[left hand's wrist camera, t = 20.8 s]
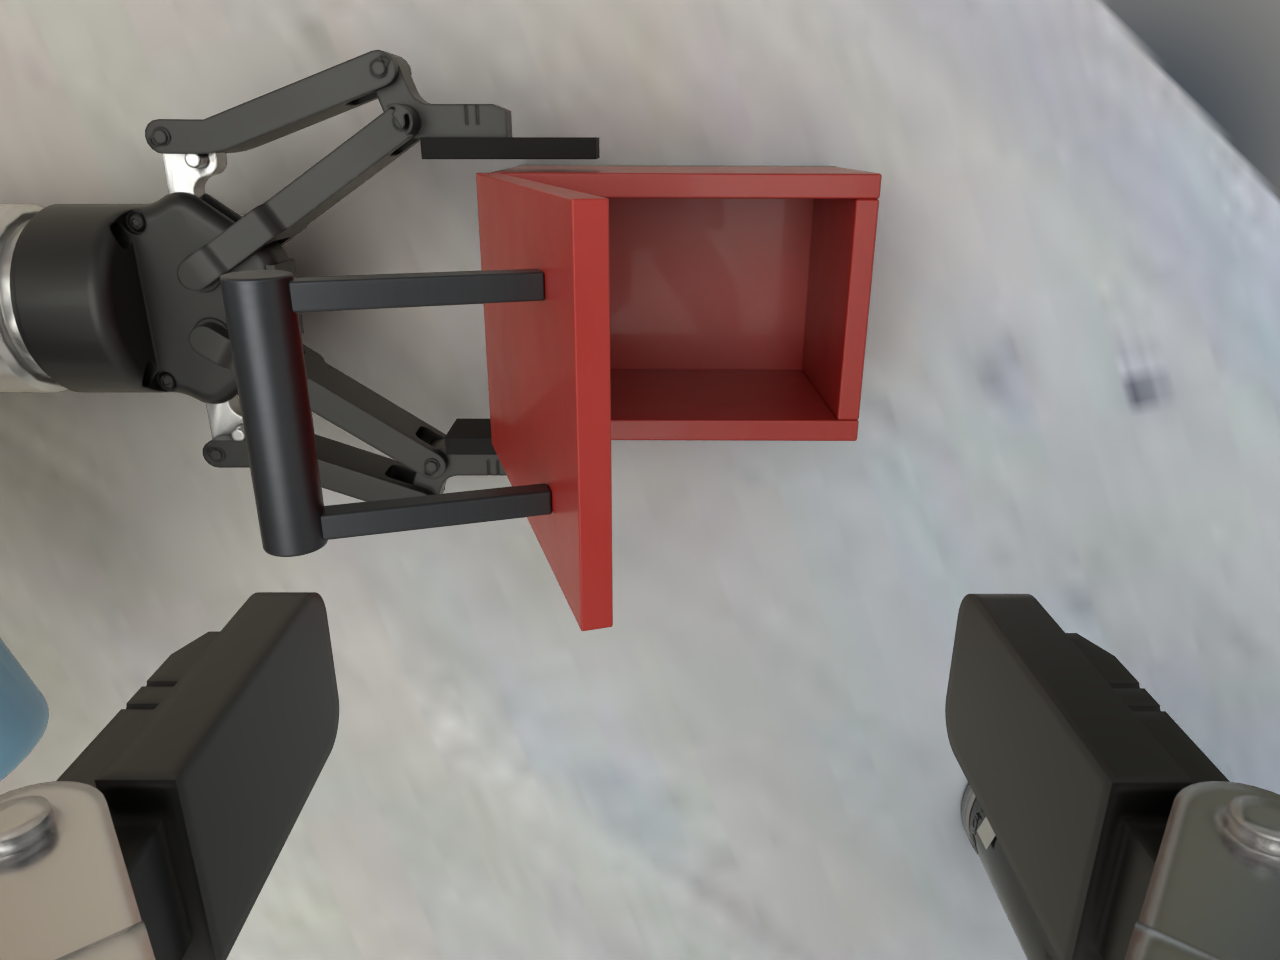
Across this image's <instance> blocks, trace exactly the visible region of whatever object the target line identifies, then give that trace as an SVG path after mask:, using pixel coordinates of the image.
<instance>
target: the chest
mask: <svg viewBox="0 0 1280 960" xmlns="http://www.w3.org/2000/svg"><path fill="white" fill-rule="evenodd" d="M492 173H500V174H504V175H509V176H513V177H517V178H522V179H526V180H530V181H535V182H539V183H543V184H548V185H552V186H556V187H561V188H565V189H569V190H574V191H578V192H582V193H587V194H591V195H595V196H600V197H604V198H607V199H608V200H609V274H610V385H611V440H776V441H856V440H857V432H858V420H857V419H858V418H859V409H860V399H861V388H862V377H863V367H864V356H865V345H866V335H867V324H868V313H869V303H870V292H871V281H872V271H873V260H874V249H875V239H876V228H877V217H878V207H879V200H878V198H879V197H880V187H881V174H879V173H872V172H865V171H858V170H851V169H845V168H838V167H834V166H653V165H520V166H518V167H513V168H509V169H505V170H500V171H496V172H492Z"/></svg>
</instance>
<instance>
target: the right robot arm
mask: <svg viewBox="0 0 1280 960" xmlns="http://www.w3.org/2000/svg"><path fill="white" fill-rule="evenodd" d="M411 74H412V73H411V69H410V66H409V64H408V63H407V61H406V60H404V59H403V58H402V57H399V56H396V55H394V54H391V53H388V52H384V51H381V50H374V51H371V52H368V53H366V54H363V55H361V56H358V57H356V58H353V59H351V60H348V61H346V62H344V63H341V64H339V65H336V66H334V67H331V68H329V69H326V70H324V71H322V72H319V73H317V74H314V75H312V76H309V77H307V78H304V79H302V80H300V81H297V82H295V83H292V84H290V85H287V86H285V87H282V88H280V89H277V90H275V91H273V92H270V93H268V94H265V95H263V96H260V97H258V98H255V99H253V100H251V101H248V102H246V103H243V104H241V105H238V106H236V107H233V108H231V109H229V110H226V111H224V112H221V113H219V114H216V115H214V116H211V117H209V118H207V119H204V120H183V119H158V120H153V121H151V122H150V123H149V124H148V125H147V127H146V130H145V137H146V140H147V143H148V144H149V146H150V147H151V148H152V149H153V150H155V151H156V152H158V153H162V155H163V161H164V166H165V172H166V178H167V184H168V190H169V194H168V195H166V196H165V197H163V198H162V199H160V200H159V201H157V202H155V203H152V204H55V205H51V206H48V207H46V208H43V207H41V206H38V205H35V204H0V392H45V393H56V392H60V391H64V390H68V389H69V390H72V391H76V392H179V393H184V394H187V395H190V396H192V397H194V398H196V399H198V400H200V401H202V402H205V403H206V406H207V412H208V417H209V422H210V428H211V433H212V440H211V441H209V442H208V443H207V444H205V446H204V448H203V456H204V458H205V460H206V461H207V462H208V463H209V464H210V465H212V466H214V467H219V468H222V467H250V463H249V457H248V451H247V445H246V438H245V432H244V426H243V420H242V414H241V407H240V401H239V398H238V389H237V383H236V376H235V370H234V364H233V358H232V352H231V345H230V339H229V333H228V327H227V321H226V315H225V308H224V302H223V296H222V290H221V284H220V277H221V276H222V275H224V274H227V273H232V272H239V271H249V270H283V271H288V272H291V273H292V274H293V277H294V278H296V272H295V264H294V258H288V255H287V254H286V252H285V250H284V249H283V247H282V245H284V244H285V243H286V242H288V241H289V240H290V239H292V238H293V237H294V236H296V235H297V234H298V233H300V232H301V231H302V230H304V229H305V228H306V227H307V225H308V224H309V223H310V222H312V221H313V220H314V219H316V218H317V217H318V216H320V215H321V214H322V213H324V212H325V211H326V210H328V209H329V208H330V207H332V206H333V205H335V204H336V203H337V202H339V201H340V200H341V199H343V198H344V197H345V196H347V195H348V194H349V193H351V192H352V191H353V190H355V189H356V188H357V187H359V186H360V185H361V184H363V183H364V182H365V181H367V180H368V179H369V178H371V177H372V176H373V175H375V174H376V173H377V172H379V171H380V170H381V169H383V168H384V167H385V166H387V165H388V164H389V163H391V162H392V161H393V160H395V159H396V158H398V157H399V156H400V155H402V154H403V153H404V152H406V151H407V150H408V149H410V148H411V147H412V146H414V145H415V144H416V143H418V142H419V141H420V140H421V153H422V159H598V158H599V138H512V122H511V111H509V110H507V109H505V108H502V107H500V106H497V105H493V104H429V103H427V102H426V101H425V100H423V99H422V97H421V96H420V95H419V93H418V91H417V89H416V87H415V84H414V82H413V79H412V77H411ZM375 99H379V102H380V104H381V106H382V109H383V111H384V113H382V114H381V115H380V116H378V117H377V118H376V119H375V120H373V121H372V122H371V123H369V124H368V125H367V126H365V127H364V128H363V129H361V130H360V131H359V132H357V133H356V134H355V135H354V136H352V137H351V138H350V139H348V140H347V141H346V142H344V143H343V144H342V145H340V146H339V147H338V148H336V149H335V150H334V151H333V152H331V153H330V154H329V155H327V156H326V157H325V158H323V159H322V160H321V161H319V162H318V163H317V164H315V165H314V166H313V167H312V168H310V169H309V170H308V171H306V172H305V173H304V174H302V175H301V176H300V177H298V178H297V179H296V180H294V181H293V182H292V183H291V184H289V185H288V186H287V187H285V188H284V189H283V190H281V191H280V192H279V193H277V194H276V195H275V196H273V197H272V198H271V199H269V200H268V201H267V202H265V203H264V204H262V205H260V206H258V207H256V208H254V209H253V210H251V211H250V212H248V213H247V214H246V215H244V216H243V217H241V216H240V215H238V214H237V213H235V212H234V211H232V210H231V209H229V208H228V207H226V206H225V205H223V204H222V203H220V202H219V201H217V200H216V199H214V198H213V197H211V196H210V195H208V194H206V193H205V184H206V181H207V180H208V179H209V178H210V177H211V176H214V175H217V174H220V173H222V172H223V171H224V170H225V168H226V165H227V156H226V153H235V152H241V151H246V150H249V149H252V148H255V147H258V146H261V145H263V144H266V143H268V142H271V141H273V140H276V139H278V138H281V137H283V136H286V135H288V134H291V133H293V132H296V131H298V130H301V129H303V128H306V127H308V126H311V125H313V124H316V123H318V122H321V121H323V120H326V119H328V118H331V117H333V116H336V115H338V114H341V113H343V112H346V111H348V110H350V109H353V108H355V107H358V106H360V105H363V104H365V103H368V102H370V101H373V100H375ZM298 314H299V322H300V329H301V334H302V333H304V331H303V324H302V316H301V313H300V312H298ZM302 345H303V344H302ZM303 352H304V360H305V367H306V375H307V382H308V390H309V397H310V405H311V411H313V412H314V413H316V414H318V415H319V416H321V417H323V418H325V419H326V420H328V421H330V422H331V423H333V424H335V425H337V426H338V427H340V428H342V429H343V430H345V431H347V432H349V433H350V434H352V435H354V436H355V437H357V438H359V439H361V440H362V441H364V442H366V443H367V444H369V445H371V446H372V447H374V448H376V449H378V450H379V451H381V452H383V453H384V454H386V455H388V456H390V457H391V458H393V459H395V460H396V461H395V460H392V459H389V458H386V457H383V456H380V455H377V454H374V453H371V452H368V451H365V450H362V449H359V448H355V447H352V446H349V445H346V444H343V443H340V442H337V441H334V440H331V439H328V438H325V437H322V436H319V435H315V434H314V435H315V443H316V450H317V458H318V465H319V473H320V480H321V487H322V488H326V489H329V490H332V491H335V492H338V493H341V494H344V495H348V496H351V497H354V498H357V499H360V500H363V501H366V502H369V501H379V500H388V499H398V498H408V497H417V496H427V495H436V494H442V493H443V492H444V490H445V484H446V480H447V479H448V478H449V477H452V476H456V475H507V474H506V472H505V470H504V468H503V466H502V464H501V462H500V460H499V458H498V456H497V453H496V451H495V449H494V447H493V445H492V437H491V420H490V419H456V421H455V423H454V424H453V426H452V427H451V429H450V430H449V432H448V433H447V435H446V434H444V433H442V432H440V431H439V430H437V429H435V428H434V427H432V426H430V425H429V424H427V423H425V422H424V421H422V420H420V419H419V418H417V417H415V416H414V415H412V414H410V413H409V412H407V411H405V410H404V409H402V408H400V407H399V406H397V405H395V404H394V403H392V402H390V401H389V400H387V399H385V398H384V397H382V396H380V395H379V394H377V393H375V392H374V391H372V390H370V389H369V388H367V387H365V386H364V385H362V384H360V383H358V382H357V381H355V380H353V379H352V378H350V377H348V376H347V375H345V374H343V373H342V372H340V371H338V370H337V369H335V368H333V367H332V366H330V365H328V364H327V363H326V362H325V361H324V359H323V357H322V356H321V355H319V354H318V353H317V352H315V351H313V350H312V349H310V348H308V347H306V346H305V345H303ZM48 718H49V709H48V705H47V702H46V700H45V698H44V696H43V695H42V693H41V692H40V691H39V689H38V688H37V687H36V685H35V684H34V683H33V681H32V680H31V679H30V677H29V676H28V674H27V673H26V672H25V670H24V669H23V668H22V666H21V665H20V664H19V662H18V661H17V660H16V658H15V657H14V656H13V654H12V653H11V652H10V650H9V649H8V648H7V646H6V645H5V644H4V642H3V641H2V640H1V638H0V781H1V780H2V779H3V778H5V777H6V776H7V775H8V774H9V773H10V772H11V771H12V770H14V769H15V768H16V767H17V766H18V765H19V764H20V763H21V762H22V761H23V760H24V759H25V758H26V757H27V755H28V754H29V753H30V752H31V751H32V749H33V748H34V747H35V745H36V744H37V743H38V742H39V740H40V739H41V737H42V735H43V734H44V731H45V729H46V727H47V723H48Z"/></svg>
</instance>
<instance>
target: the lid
mask: <svg viewBox="0 0 1280 960" xmlns="http://www.w3.org/2000/svg"><path fill="white" fill-rule="evenodd" d="M476 181H477V198H478V215H479V232H480V249H481V266H482V271H459V272H433V273H406V274H379V275H352V276H326V277H299V278H294V277H293V274H292V273H291V272H288V271H283V270H249V271H239V272H232V273H227V274H224V275H222V276H221V277H220V284H221V290H222V296H223V302H224V308H225V315H226V321H227V327H228V333H229V339H230V345H231V352H232V358H233V364H234V370H235V376H236V383H237V389H238V395H239V401H240V407H241V414H242V420H243V426H244V432H245V438H246V445H247V451H248V457H249V463H250V469H251V475H252V482H253V488H254V494H255V500H256V506H257V513H258V519H259V525H260V531H261V537H262V544H263V548H264V550H265V551H266V552H267V553H268V554H270V555H274V556H280V557H292V556H300V555H304V554H308V553H311V552H314V551H316V550H319V549H320V548H322V547H323V546H324V545H325V544H326V543H327V541H328V540H329V539H338V538H347V537H355V536H364V535H373V534H382V533H390V532H399V531H408V530H417V529H425V528H434V527H443V526H452V525H460V524H469V523H478V522H487V521H495V520H504V519H513V518H522V517H527V518H528V520H529V522H530V524H531V527H532V529H533V531H534V533H535V535H536V537H537V539H538V541H539V543H540V545H541V547H542V549H543V552H544V554H545V556H546V558H547V560H548V562H549V564H550V566H551V568H552V570H553V572H554V574H555V577H556V579H557V581H558V583H559V585H560V587H561V589H562V591H563V593H564V595H565V597H566V600H567V602H568V604H569V606H570V608H571V610H572V612H573V614H574V616H575V618H576V620H577V622H578V625H579V627H580V629H581V631H587V630H593V629H600V628H606V627H612V625H613V608H612V497H611V385H610V274H609V200H608V199H607V198H604V197H600V196H595V195H591V194H587V193H582V192H578V191H574V190H569V189H565V188H561V187H556V186H552V185H548V184H543V183H539V182H535V181H530V180H526V179H522V178H517V177H513V176H509V175H504V174H500V173H476ZM463 304H484V317H485V334H486V351H487V368H488V385H489V402H490V420H491V437H492V445H493V447H494V449H495V451H496V453H497V456H498V458H499V460H500V462H501V464H502V466H503V468H504V470H505V472H506V474H507V476H508V479H509V481H510V483H511V485H512V487H503V488H494V489H484V490H475V491H465V492H455V493H446V494H436V495H427V496H417V497H408V498H398V499H388V500H379V501H369V502H360V503H350V504H341V505H331V506H324V503H323V495H322V488H321V480H320V473H319V465H318V458H317V450H316V443H315V435H314V428H313V420H312V412H311V405H310V397H309V390H308V382H307V375H306V367H305V360H304V352H303V345H302V337H301V329H300V322H299V314H298V312H315V311H336V310H357V309H378V308H399V307H420V306H442V305H463Z"/></svg>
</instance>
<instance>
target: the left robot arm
mask: <svg viewBox="0 0 1280 960" xmlns="http://www.w3.org/2000/svg"><path fill="white" fill-rule="evenodd" d="M945 711H946V726H947V733H948V738H949V741H950V745H951V748H952V750H953V753H954V755H955V757H956V759H957V761H958V763H959V765H960V767H961V769H962V771H963V773H964V775H965V776H966V778H967V780H968V782H969V785H968V787H967V789H966V791H965V794H964V797H963V801H962V808H961V816H962V822H963V826H964V829H965V831H966V834H967V836H968V838H969V840H970V842H971V844H972V846H973V848H974V849H975V851H976V852H977V854H978V855H979V857H980V859H981V861H982V863H983V865H984V868H985V870H986V872H987V874H988V876H989V879H990V881H991V883H992V885H993V887H994V890H995V892H996V894H997V896H998V898H999V900H1000V902H1001V904H1002V907H1003V909H1004V911H1005V913H1006V915H1007V917H1008V919H1009V921H1010V923H1011V926H1012V928H1013V930H1014V932H1015V934H1016V936H1017V938H1018V940H1019V943H1020V945H1021V947H1022V949H1023V951H1024V953H1025V955H1026V957H1027V959H1028V960H1280V795H1278V794H1276V793H1273V792H1271V791H1268V790H1264V789H1261V788H1258V787H1254V786H1250V785H1245V784H1241V783H1234V782H1230V781H1229V780H1228V779H1227V778H1226V777H1225V776H1224V775H1223V774H1222V773H1221V772H1220V771H1219V770H1218V768H1217V767H1216V766H1215V765H1214V764H1213V763H1212V762H1211V761H1210V760H1209V759H1208V758H1207V756H1206V755H1205V754H1204V753H1203V752H1202V751H1201V750H1200V749H1199V748H1198V747H1197V746H1196V744H1195V743H1194V742H1193V741H1192V740H1191V739H1190V738H1189V737H1188V736H1187V735H1186V734H1185V732H1184V731H1183V730H1182V729H1181V728H1180V727H1179V726H1178V725H1177V724H1176V723H1175V722H1174V720H1173V719H1172V718H1171V717H1170V716H1169V715H1168V714H1167V713H1166V712H1161V711H1160V705H1159V704H1158V703H1157V702H1156V701H1155V700H1154V699H1153V698H1152V696H1151V695H1150V694H1149V693H1148V692H1147V691H1146V690H1145V689H1140V687H1139V682H1138V681H1137V680H1136V679H1135V678H1134V677H1133V676H1132V675H1131V674H1130V672H1129V671H1128V670H1127V669H1126V668H1125V667H1124V666H1123V665H1122V664H1121V663H1120V662H1119V660H1118V659H1117V658H1116V657H1115V656H1113V655H1112V654H1110V653H1108V652H1107V651H1105V650H1103V649H1102V648H1100V647H1098V646H1097V645H1095V644H1093V643H1092V642H1090V641H1089V640H1087V639H1085V638H1084V637H1082V636H1080V635H1079V634H1077V633H1065V632H1064V631H1063V630H1062V629H1061V628H1060V627H1059V625H1058V624H1057V623H1056V622H1055V621H1054V620H1053V618H1052V617H1051V616H1050V615H1049V614H1048V613H1047V611H1046V610H1045V609H1044V608H1043V607H1042V606H1041V604H1040V603H1039V602H1038V601H1037V600H1036V599H1035V598H1034V597H1033V596H1032V595H1030V594H968V595H966V596H965V597H964V599H963V600H962V602H961V605H960V608H959V613H958V620H957V627H956V634H955V640H954V647H953V654H952V661H951V668H950V675H949V682H948V689H947V696H946V709H945ZM338 721H339V698H338V690H337V683H336V676H335V669H334V662H333V655H332V648H331V641H330V634H329V627H328V620H327V613H326V608H325V604H324V601H323V599H322V597H321V596H320V595H319V594H318V593H255V594H253V595H252V596H251V597H250V598H249V599H248V600H247V601H246V602H245V603H244V605H243V606H242V607H241V608H240V609H239V610H238V612H237V613H236V614H235V615H234V616H233V618H232V619H231V620H230V621H229V622H228V623H227V625H226V626H225V627H224V628H223V629H222V630H221V632H208V633H206V634H204V635H203V636H201V637H199V638H198V639H196V640H194V641H193V642H191V643H189V644H188V645H186V646H184V647H183V648H181V649H180V650H178V651H176V652H175V653H173V654H171V655H170V656H169V657H168V659H167V660H166V661H165V662H164V663H163V664H162V665H161V666H160V667H159V669H158V670H157V671H156V672H155V673H154V674H153V675H152V676H151V677H150V678H149V680H148V681H147V686H146V687H141V688H140V689H139V691H138V692H137V693H136V694H135V695H134V696H133V697H132V698H131V699H130V700H129V702H128V703H127V707H126V709H121V710H120V711H119V713H118V714H117V715H116V716H115V717H114V718H113V719H112V720H111V721H110V722H109V724H108V725H107V726H106V727H105V728H104V729H103V730H102V731H101V732H100V733H99V735H98V736H97V737H96V738H95V739H94V740H93V741H92V742H91V743H90V744H89V746H88V747H87V748H86V749H85V750H84V751H83V752H82V753H81V754H80V755H79V757H78V758H77V759H76V760H75V761H74V762H73V763H72V764H71V765H70V766H69V768H68V769H67V770H66V771H65V772H64V773H63V774H62V775H61V776H60V777H59V779H58V780H57V781H54V782H46V783H39V784H35V785H30V786H26V787H22V788H19V789H16V790H12V791H9V792H7V793H4V794H2V795H0V960H226V959H227V957H228V955H229V953H230V951H231V949H232V947H233V945H234V943H235V941H236V939H237V937H238V935H239V933H240V931H241V929H242V927H243V925H244V923H245V921H246V919H247V917H248V915H249V913H250V911H251V909H252V907H253V905H254V903H255V901H256V899H257V897H258V895H259V893H260V891H261V889H262V887H263V885H264V883H265V881H266V879H267V878H268V876H269V874H270V872H271V870H272V868H273V866H274V864H275V862H276V860H277V858H278V856H279V854H280V852H281V850H282V848H283V846H284V844H285V842H286V840H287V838H288V836H289V834H290V832H291V830H292V828H293V826H294V824H295V822H296V820H297V818H298V816H299V814H300V812H301V810H302V808H303V806H304V804H305V802H306V800H307V798H308V796H309V794H310V792H311V790H312V788H313V786H314V784H315V782H316V780H317V778H318V776H319V774H320V772H321V770H322V768H323V766H324V764H325V762H326V761H327V759H328V757H329V755H330V753H331V750H332V748H333V745H334V742H335V738H336V734H337V729H338Z"/></svg>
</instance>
